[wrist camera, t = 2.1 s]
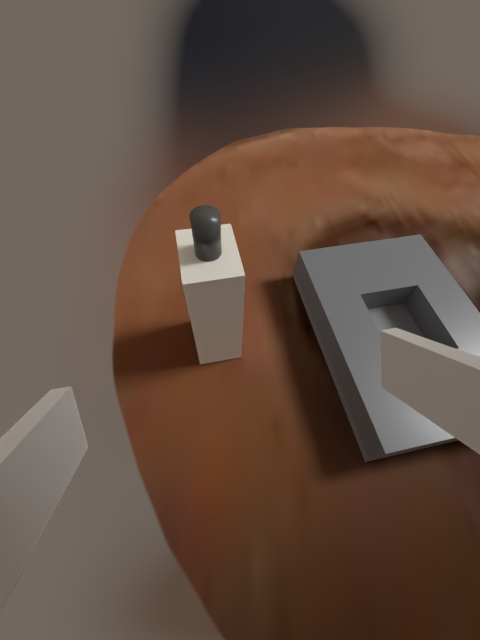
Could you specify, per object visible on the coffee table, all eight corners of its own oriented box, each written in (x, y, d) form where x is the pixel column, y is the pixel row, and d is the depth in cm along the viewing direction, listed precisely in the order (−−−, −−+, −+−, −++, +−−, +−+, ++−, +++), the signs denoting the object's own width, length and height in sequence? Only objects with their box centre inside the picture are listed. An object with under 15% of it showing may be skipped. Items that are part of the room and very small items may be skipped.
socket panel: (403, 260, 37) (420, 234, 34) (514, 426, 27) (555, 414, 23) (292, 276, 35) (299, 251, 32) (365, 462, 25) (385, 453, 21)
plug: (231, 314, 32) (230, 186, 20) (241, 357, 30) (246, 240, 17) (193, 321, 32) (167, 193, 19) (200, 364, 29) (174, 249, 17)
